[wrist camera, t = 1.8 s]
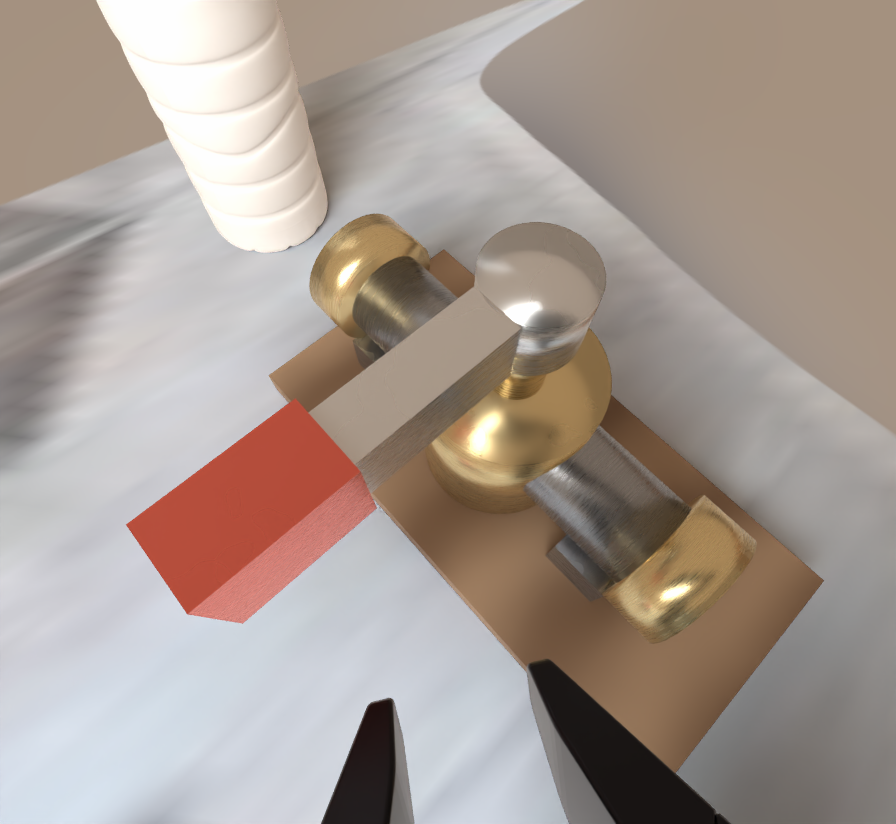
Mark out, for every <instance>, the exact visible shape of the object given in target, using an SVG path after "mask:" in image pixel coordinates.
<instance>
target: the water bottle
mask: <svg viewBox="0 0 896 824" xmlns="http://www.w3.org/2000/svg"><path fill="white" fill-rule="evenodd" d="M96 1H97V3H98V5H99V7H100V9H101V11H102V13H103V15H104V17H105V18H106V21H107V22H108V24H109V26H110V28H111V29H112V31H113V33H114V34H115V35H116V37H117V39H118V40H119V41H120V42H121V45H122V48H123V51H124V53H125V56H126V58H127V60H128V61H129V64H130V66H131V68H132V70H133V72H134V73H135V75H136V77H137V79H138V80H139V82H140V83H141V85H142V87H143V88H144V89H145V90H146V93H147V96H148V99H149V101H150V104H151V106H152V107H153V109H154V111H155V113H156V114H157V116H158V117H159V118H160V120H161V121H162V122H163V125H164V129H165V131H166V133H167V136H168V138H169V140H170V142H171V144H172V145H173V147H174V149H175V151H176V153H177V154H178V156H179V157H180V159H181V160H182V162H183V163H184V166H185V169H186V171H187V173H188V176H189V178H190V180H191V181H192V183H193V185H194V187H195V189H196V190H197V192H198V193H199V195H200V197H201V200H202V202H203V204H204V206H205V208H206V210H207V212H208V214H209V216H210V218H211V220H212V222H213V223H214V225H215V227H216V229H217V230H218V232H219V233H220V234H221V235H222V236H223V237H224V238H225V239H226V240H227V241H228V242H229V243H231V244H232V245H234V246H236V247H238V248H241V249H243V250H247V251H253V250H255V251H257V252H261V253H271V252H278V251H283V250H286V249H287V248H288V247H289V246H296V245H299V244H301V243H302V242H304V241H306V240H307V239H308V238H310V237H311V236H312V235H313V234H314V233H315V232H316V230H317V227H318V226H320V225H321V224H322V223H323V221H324V218H325V216H326V212H327V206H328V202H327V193H326V189H325V185H324V181H323V177H322V173H321V170H320V167H319V164H318V162H317V155H316V150H315V146H314V142H313V139H312V136H311V133H310V130H309V126H308V119H307V114H306V110H305V106H304V103H303V100H302V97H301V95H300V93H299V92H298V87H299V86H298V79H297V74H296V70H295V67H294V64H293V61H292V59H291V57H290V50H289V43H288V39H287V34H286V30H285V27H284V23H283V19H282V16H281V14H280V11H279V9H278V7H277V0H96Z"/></svg>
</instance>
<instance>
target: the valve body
mask: <svg viewBox="0 0 896 824" xmlns="http://www.w3.org/2000/svg"><path fill="white" fill-rule="evenodd" d="M429 269H430V257H429V254H428V252H427V250H426V249H425V248H424V247H423V246H422V245H421V244H420V243H419V242H418V241H416V240H415V239H414V238H413V237H412V236H411V235H410V234H408V233H407V232H406V231H405V230H404V229H403V228H402V227H401V226H399V225H398V224H397V223H396V222H395V221H394V220H393V219H391V218H390V217H388V216H386V215H383V214H370V215H365V216H362V217H360V218H357V219H355V220H353V221H352V222H350V223H348V224H347V225H345V226H344V227H343V228H341V229H340V230H339V231H338V232H337V233H336V234H335V235H334V236H333V237H332V238H331V239H330V240H329V241H328V242H327V244H326V245H325V246H324V247H323V249H322V250H321V252H320V254H319V255H318V257H317V259H316V261H315V263H314V266H313V269H312V272H311V276H310V285H309V286H310V293H311V296H312V298H313V300H314V302H315V303H316V304H317V305H318V306H319V307H320V308H321V309H322V310H323V311H324V312H325V313H326V314H327V315H328V316H329V317H330V318H331V319H332V320H333V321H334V322H335V323H336V324H337V325H338V326H339V327H340V328H341V329H342V330H343V332H344V333H346V334H347V335H348V336H350V337H352V338H356V339H354V340H353V344H354V348H355V351H356V355H357V358H358V362H359V364H360V365H361V366H362V367H363V368H364V369H366V368H368V367H369V366H370V365H372V364H373V363H374V362H375V361H377V360H378V359H379V358H381V357H382V356H383V355H385V354H386V353H387V352H389V351H390V350H391V349H393V348H394V347H395V346H396V345H398V344H399V343H400V342H402V341H403V340H404V339H406V338H407V337H408V336H410V335H411V334H412V333H414V332H415V331H416V330H417V329H419V328H420V327H421V326H423V325H424V324H425V323H427V322H428V321H429V320H431V319H432V318H433V317H435V316H436V315H437V314H438V313H440V312H441V311H442V310H444V309H445V308H446V307H448V306H449V305H450V304H452V303H453V302H454V301H456V300H457V299H458V298H457V297H456V296H455V295H454V294H453V293H452V292H451V291H450V290H449V289H447V288H446V287H445V286H444V285H443V284H442V283H441V282H440V281H439V280H437V279H436V278H435V277H434V276H433V275H432V274H431V273H430V272H429ZM611 389H612V377H611V371H610V365H609V362H608V359H607V355H606V353H605V351H604V349H603V347H602V345H601V343H600V341H599V340H598V338H597V337H596V335H595V334H594V333H593V332H592V330H591V329H590V328H588V330H587V332H586V335H585V337H584V339H583V341H582V344H581V346H580V348H579V350H578V352H577V353H576V355H575V356H574V357H573V359H572V360H571V361H570V362H569V363H567V364H566V365H565V366H563V367H562V368H560V369H558V370H556V371H554V372H551V373H548V374H544V375H538V376H524V375H517V374H513V373H510V376H509V377H508V378H507V379H506V380H505V381H503V382H502V383H501V384H500V385H499V386H497V387H496V388H495V389H494V390H493V391H492V392H490V393H489V394H488V395H487V396H486V397H484V398H483V399H482V400H481V401H480V402H479V403H477V404H476V405H475V406H474V407H473V408H471V409H470V410H469V411H468V412H467V413H466V414H464V415H463V416H462V417H461V418H460V419H458V420H457V421H456V422H455V423H454V424H453V425H451V426H450V427H449V428H448V429H447V430H446V431H444V432H443V433H442V434H441V435H440V436H438V437H437V438H436V439H435V440H434V441H433V442H431V443H430V444H429V445H428V446H427V447H425V454H426V459H427V462H428V466H429V468H430V470H431V473H432V475H433V476H434V478H435V480H436V481H437V483H438V484H439V485H440V486H441V488H442V489H443V490H444V491H445V492H446V493H447V494H448V495H449V496H450V497H452V498H453V499H455V500H456V501H457V502H459V503H461V504H463V505H464V506H466V507H468V508H471V509H474V510H476V511H480V512H484V513H490V514H510V513H517V512H520V511H523V510H527V509H529V508H531V507H533V506H535V505H538V506H539V507H540V508H541V509H542V510H543V511H544V512H545V513H546V514H547V515H548V516H549V517H550V518H551V519H552V520H553V521H554V522H555V523H556V524H557V525H558V526H559V527H560V528H561V529H562V530H563V531H564V532H565V533H566V535H565V536H564V537H563V538H562V539H561V541H560V542H559V543H558V544H557V545H556V546H555V547H554V548H553V549H552V550H551V551H550V552H549V553H548V554H547V555H546V557H547V558H548V559H549V560H550V561H551V562H552V563H553V564H554V565H555V566H556V567H557V568H558V569H559V570H560V571H561V572H562V573H563V574H564V575H565V576H566V577H567V578H568V579H569V581H570V582H571V583H572V584H573V585H574V586H575V587H576V588H577V589H578V590H579V591H580V592H581V593H582V594H583V595H584V596H585V597H586V598H587V599H588V600H589V601H590V602H591V601H593V600H596V599H599V598H602V597H605V598H606V599H607V600H608V601H609V602H610V603H611V604H612V605H613V606H614V607H615V608H616V609H617V611H618V612H619V613H620V614H621V615H622V616H623V617H624V618H625V619H626V620H627V621H628V622H629V623H630V624H631V625H632V626H633V627H634V628H635V629H636V630H637V631H638V632H639V633H640V634H641V635H642V636H643V637H644V638H645V639H646V640H647V641H648V642H649V643H651V644H657V643H660V642H663V641H665V640H667V639H669V638H671V637H673V636H675V635H676V634H678V633H679V632H681V631H682V630H684V629H685V628H686V627H688V626H689V625H691V624H692V623H693V622H694V621H696V620H697V619H698V618H699V617H700V616H702V615H703V614H704V613H705V612H706V611H707V610H708V609H709V608H711V607H712V606H713V605H714V604H715V603H716V602H717V601H718V600H719V599H720V598H721V597H722V596H723V595H724V594H725V593H726V592H727V591H728V590H729V588H730V587H731V586H732V585H733V584H734V583H735V582H736V580H737V579H738V578H739V577H740V575H741V574H742V573H743V571H744V570H745V569H746V567H747V566H748V564H749V563H750V561H751V559H752V557H753V555H754V553H755V551H756V547H757V542H756V540H755V539H754V538H752V537H751V536H750V535H749V534H748V533H747V532H746V531H745V530H743V529H742V528H741V527H740V526H739V525H738V524H737V523H735V522H734V521H733V520H732V519H731V518H730V517H729V516H728V515H726V514H725V513H724V512H723V511H722V510H721V509H720V508H718V507H717V506H716V505H715V504H714V503H713V502H712V501H711V500H709V499H708V498H707V497H706V496H705V495H701V496H699V497H697V498H695V499H694V500H692V501H691V502H689V503H688V504H686V503H685V502H684V501H683V500H682V499H681V498H680V497H679V496H677V495H676V494H675V493H674V492H673V491H672V490H671V489H670V488H669V487H667V486H666V485H665V484H664V483H663V482H662V481H661V480H660V479H659V478H657V477H656V476H655V475H654V474H653V473H652V472H651V471H650V470H649V469H647V468H646V467H645V466H644V465H643V464H642V463H641V462H640V461H639V460H637V459H636V458H635V457H634V456H633V455H632V454H631V453H630V452H629V451H627V450H626V449H625V448H624V447H623V446H622V445H621V444H620V443H619V442H617V441H616V440H615V439H614V438H613V437H612V436H611V435H610V434H609V433H607V432H606V431H605V430H604V429H603V428H602V427H601V426H600V425H599V424H600V423H601V421H602V420H603V417H604V415H605V413H606V411H607V408H608V405H609V401H610V397H611Z"/></svg>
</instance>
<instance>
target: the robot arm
mask: <svg viewBox="0 0 896 824" xmlns="http://www.w3.org/2000/svg"><path fill="white" fill-rule="evenodd" d="M527 677H528V685H529V693H530V700H531V705H532V709H533V713H534V716H535V719H536V722H537V726H538V729H539V732H540V736H541V739H542V742H543V745H544V749H545V752H546V755H547V759H548V762H549V765H550V768H551V772H552V775H553V778H554V782H555V785H556V788H557V791H558V794H559V797H560V800H561V803H562V806H563V809H564V811H565V814H566V816H567V819H568V822H569V824H731V823H730V822H729V821H728V820H726V819H725V818H724V817H723V816H722V815H721V814H716V812H715V809H714V808H713V807H712V806H711V805H710V804H709V803H707V802H706V801H705V800H704V799H703V798H702V797H701V796H700V795H699V794H698V793H697V792H695V791H694V790H693V789H692V788H691V787H690V786H689V785H688V784H687V783H686V782H684V781H683V780H682V779H681V778H680V777H679V776H678V775H677V774H676V773H675V772H673V771H672V770H671V769H670V768H669V767H668V766H667V765H666V764H665V763H664V762H662V761H661V760H660V759H659V758H658V757H657V756H656V755H655V754H654V753H653V752H652V751H650V750H649V749H648V748H647V747H646V746H645V745H644V744H643V743H642V742H641V741H639V740H638V739H637V738H636V737H635V736H634V735H633V734H632V733H631V732H630V731H628V730H627V729H626V728H625V727H624V726H623V725H622V724H621V723H620V722H619V721H617V720H616V719H615V718H614V717H613V716H612V715H611V714H610V713H609V712H608V711H607V710H605V709H604V708H603V707H602V706H601V705H600V704H599V703H598V702H597V701H596V700H594V699H593V698H592V697H591V696H590V695H589V694H588V693H587V692H586V691H585V690H583V689H582V688H581V687H580V686H579V685H578V684H577V683H576V682H575V681H574V680H572V679H571V678H570V677H569V676H568V675H567V674H566V673H565V672H564V671H563V670H562V669H560V668H559V667H558V666H557V665H556V664H555V663H554V662H553V661H551V660H550V659H543V660H539V661H535V662H531V663H529V664H528V665H527ZM321 824H414V816H413V809H412V801H411V793H410V786H409V778H408V770H407V763H406V755H405V747H404V741H403V735H402V731H401V727H400V723H399V719H398V715H397V711H396V707H395V703H394V701H393V699H391V698H387V699H383V700H379V701H375V702H371V703H370V704H369V705H368V706H367V708H366V711H365V713H364V716H363V718H362V721H361V724H360V726H359V729H358V731H357V734H356V736H355V739H354V741H353V744H352V746H351V749H350V751H349V754H348V756H347V759H346V762H345V764H344V767H343V769H342V772H341V774H340V777H339V779H338V782H337V784H336V787H335V789H334V792H333V795H332V797H331V800H330V802H329V805H328V807H327V810H326V812H325V815H324V817H323V820H322V822H321Z"/></svg>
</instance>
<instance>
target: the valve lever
mask: <svg viewBox="0 0 896 824" xmlns="http://www.w3.org/2000/svg"><path fill="white" fill-rule="evenodd" d="M605 286H606V272H605V267H604V264H603V261H602V260H601V258H600V256H599V254H598V253H597V251H596V250H595V248H594V247H593V246H592V245H591V244H590V243H589V242H588V241H587V240H586V239H584V238H583V237H582V236H580V235H579V234H577V233H575V232H573V231H571V230H569V229H567V228H565V227H562V226H558V225H555V224H550V223H541V222H530V223H522V224H518V225H514V226H511V227H508V228H506V229H504V230H502V231H500V232H499V233H497V234H495V235H494V236H493V237H492V238H491V239H489V241H488V242H487V243H486V244H485V245H484V247H483V248H482V250H481V252H480V254H479V256H478V259H477V263H476V272H475V283H474V287H473V288H471V289H470V290H469V291H467V292H466V293H465V294H463V295H462V296H461V297H459V298H458V299H457V300H456V301H454V302H453V303H452V304H450V305H449V306H448V307H446V308H445V309H444V310H442V311H441V312H440V313H438V314H437V315H436V316H435V317H433V318H432V319H431V320H429V321H428V322H427V323H425V324H424V325H423V326H421V327H420V328H419V329H417V330H416V331H415V332H414V333H412V334H411V335H410V336H408V337H407V338H406V339H404V340H403V341H402V342H400V343H399V344H398V345H396V346H395V347H394V348H393V349H391V350H390V351H389V352H387V353H386V354H385V355H383V356H382V357H381V358H379V359H378V360H377V361H375V362H374V363H373V364H372V365H370V366H369V367H368V368H366V369H365V370H364V371H362V372H361V373H360V374H358V375H357V376H356V377H354V378H353V379H352V380H350V381H349V382H348V383H347V384H345V385H344V386H343V387H341V388H340V389H339V390H337V391H336V392H335V393H333V394H332V395H331V396H329V397H328V398H327V399H326V400H324V401H323V402H322V403H320V404H319V405H318V406H316V407H315V408H314V409H312V410H311V411H310V412H307V411H306V410H305V408H304V407H303V406H302V405H301V404H300V403H299V402H298V401H297V399H296V398H295V399H294V400H293V401H291V402H290V403H289V404H287V405H286V406H284V407H283V408H282V409H280V410H279V411H278V412H276V413H275V414H274V415H272V416H271V417H270V418H268V419H267V420H266V421H264V422H263V423H262V424H260V425H259V426H258V427H256V428H255V429H254V430H252V431H251V432H250V433H248V434H247V435H246V436H244V437H243V438H242V439H240V440H239V441H238V442H236V443H235V444H234V445H232V446H231V447H230V448H228V449H227V450H226V451H224V452H223V453H222V454H220V455H219V456H217V457H216V458H215V459H213V460H212V461H211V462H209V463H208V464H207V465H205V466H204V467H203V468H201V469H200V470H199V471H197V472H196V473H195V474H193V475H192V476H191V477H189V478H188V479H187V480H185V481H184V482H183V483H181V484H180V485H179V486H177V487H176V488H175V489H173V490H172V491H171V492H169V493H168V494H167V495H165V496H164V497H163V498H161V499H160V500H159V501H157V502H156V503H155V504H153V505H152V506H150V507H149V508H148V509H146V510H145V511H144V512H142V513H141V514H140V515H138V516H137V517H136V518H134V519H133V520H132V521H130V522H129V523H128V524H126V525H127V527H128V528H129V530H130V531H131V533H132V534H133V536H134V537H135V538H136V540H137V541H138V543H139V544H140V546H141V547H142V549H143V550H144V552H145V553H146V554H147V556H148V557H149V559H150V560H151V562H152V563H153V565H154V566H155V568H156V569H157V571H158V572H159V573H160V575H161V576H162V578H163V579H164V581H165V582H166V584H167V585H168V587H169V588H170V590H171V591H172V592H173V594H174V595H175V597H176V598H177V600H178V601H179V603H180V604H181V606H182V607H183V609H184V610H185V611H186V613H187V614H189V615H195V616H201V617H207V618H213V619H219V620H225V621H231V622H237V623H244V622H245V621H246V620H247V619H248V618H250V617H251V616H252V615H253V614H254V613H255V612H257V611H258V610H259V609H260V608H261V607H262V606H264V605H265V604H266V603H267V602H268V601H269V600H271V599H272V598H273V597H274V596H275V595H276V594H278V593H279V592H280V591H281V590H282V589H283V588H284V587H286V586H287V585H288V584H289V583H290V582H291V581H293V580H294V579H295V578H296V577H297V576H298V575H300V574H301V573H302V572H303V571H304V570H305V569H307V568H308V567H309V566H310V565H311V564H312V563H314V562H315V561H316V560H317V559H318V558H319V557H321V556H322V555H323V554H324V553H325V552H326V551H328V550H329V549H330V548H331V547H332V546H333V545H335V544H336V543H337V542H338V541H339V540H340V539H341V538H343V537H344V536H345V535H346V534H347V533H348V532H350V531H351V530H352V529H353V528H354V527H355V526H357V525H358V524H359V523H360V522H361V521H362V520H364V519H365V518H366V517H367V516H368V515H369V514H371V513H372V512H373V511H374V510H375V509H376V505H375V503H374V501H373V498H372V496H371V493H372V492H373V491H375V490H376V489H377V488H378V487H379V486H381V485H382V484H383V483H384V482H385V481H386V480H388V479H389V478H390V477H391V476H392V475H394V474H395V473H396V472H397V471H398V470H399V469H401V468H402V467H403V466H404V465H405V464H407V463H408V462H409V461H410V460H411V459H412V458H414V457H415V456H416V455H417V454H418V453H420V452H421V451H422V450H423V449H424V448H425V447H427V446H428V445H429V444H430V443H431V442H433V441H434V440H435V439H436V438H437V437H438V436H440V435H441V434H442V433H443V432H444V431H446V430H447V429H448V428H449V427H450V426H451V425H453V424H454V423H455V422H456V421H457V420H458V419H460V418H461V417H462V416H463V415H464V414H466V413H467V412H468V411H469V410H470V409H471V408H473V407H474V406H475V405H476V404H477V403H479V402H480V401H481V400H482V399H483V398H484V397H486V396H487V395H488V394H489V393H490V392H492V391H493V390H494V389H495V388H496V387H497V386H499V385H500V384H501V383H502V382H503V381H505V380H506V379H507V378H508V377H509V376H510V373H513V374H517V375H524V376H538V375H544V374H548V373H551V372H554V371H556V370H558V369H560V368H562V367H563V366H565V365H566V364H567V363H569V362H570V361H571V360H572V359H573V357H574V356H575V355H576V353H577V352H578V350H579V348H580V346H581V344H582V341H583V339H584V337H585V335H586V332H587V330H588V328H589V326H590V323H591V321H592V319H593V317H594V314H595V312H596V310H597V308H598V305H599V303H600V301H601V299H602V296H603V294H604V291H605Z"/></svg>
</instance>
